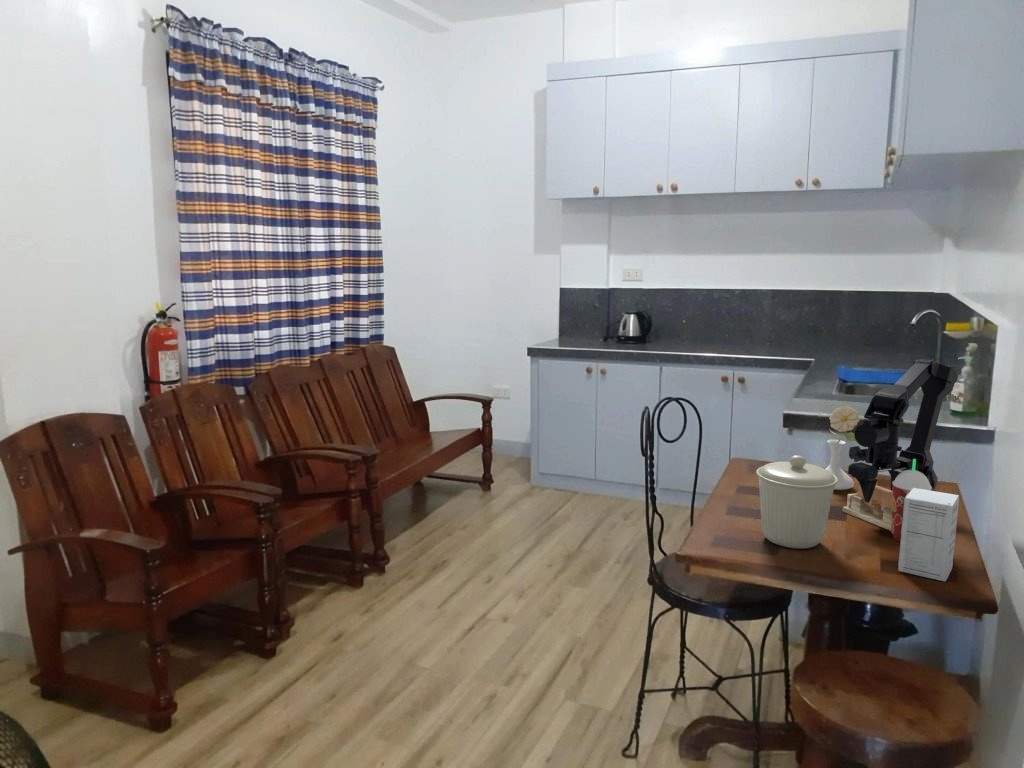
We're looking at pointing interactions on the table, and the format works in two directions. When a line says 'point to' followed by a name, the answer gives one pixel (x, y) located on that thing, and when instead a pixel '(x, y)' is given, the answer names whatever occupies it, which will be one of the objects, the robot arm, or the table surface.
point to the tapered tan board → (878, 497)
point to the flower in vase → (841, 443)
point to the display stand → (868, 511)
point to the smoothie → (901, 490)
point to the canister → (795, 502)
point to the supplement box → (928, 533)
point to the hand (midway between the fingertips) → (880, 499)
